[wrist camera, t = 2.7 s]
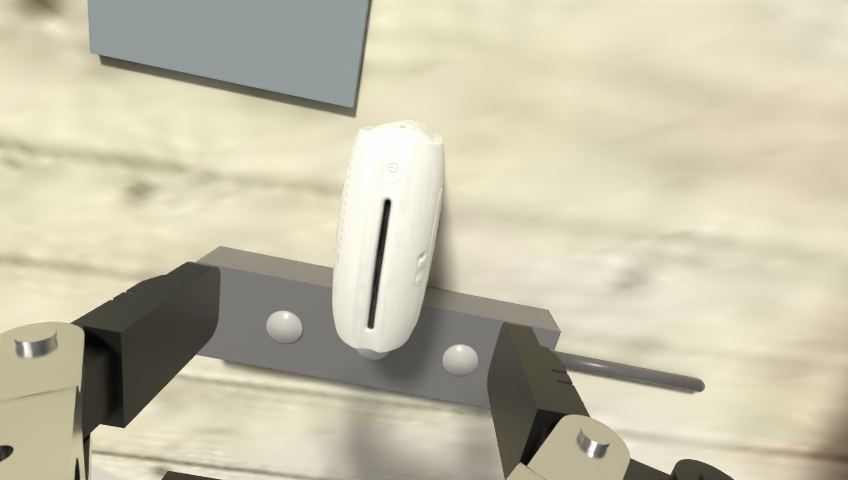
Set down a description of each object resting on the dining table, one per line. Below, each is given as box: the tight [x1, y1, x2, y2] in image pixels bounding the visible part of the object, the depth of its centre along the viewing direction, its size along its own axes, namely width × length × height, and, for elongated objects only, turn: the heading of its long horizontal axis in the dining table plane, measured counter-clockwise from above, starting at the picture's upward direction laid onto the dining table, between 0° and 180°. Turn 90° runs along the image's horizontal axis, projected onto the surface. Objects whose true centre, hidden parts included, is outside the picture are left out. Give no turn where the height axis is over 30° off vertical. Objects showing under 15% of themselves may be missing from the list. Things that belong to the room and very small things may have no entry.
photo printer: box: [332, 120, 445, 353], centre depth 21 cm, size 10×4×12 cm, turn 170°
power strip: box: [196, 246, 705, 409], centre depth 29 cm, size 7×37×4 cm, turn 79°
